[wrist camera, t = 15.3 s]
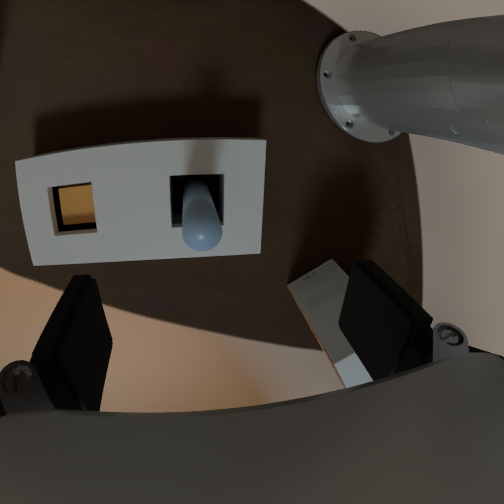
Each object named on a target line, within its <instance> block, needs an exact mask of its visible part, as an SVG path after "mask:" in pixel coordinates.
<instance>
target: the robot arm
mask: <svg viewBox="0 0 504 504" xmlns="http://www.w3.org/2000/svg"><path fill="white" fill-rule="evenodd" d="M324 73H325V75H326V77H325V76H324ZM316 78H317V88H318V92H319V95H320V99H321V101H322V104H323V106H324V108H325V110H326V112H327V113H328V115H329V116H330V118H331V119H332V120H333V121H334V122H335V124H336V125H337V126H338V127H339V128H340V129H342V130H343V131H344V132H346V133H347V134H349V135H351V136H353V137H355V138H357V139H360V140H364V141H369V142H384V141H387V140H391V139H393V138H394V137H396V136H398V135H399V134H400V133H401V132H405V133H412V134H418V135H423V136H428V137H433V138H438V139H443V140H448V141H452V142H456V143H461V144H465V145H469V146H473V147H477V148H481V149H484V150H488V151H492V152H495V153H499V154H503V155H504V15H497V16H489V17H478V18H469V19H463V20H455V21H448V22H442V23H437V24H432V25H427V26H422V27H418V28H413V29H409V30H406V31H401V32H397V33H393V34H390V35H386V36H383V37H381V36H379V35H377V34H375V33H371V32H367V31H352V32H347V33H344V34H342V35H340V36H338V37H336V38H335V39H333V40H332V41H331V42H330V43H329V44H328V45H327V46H326V47H325V48H324V50H323V52H322V54H321V55H320V58H319V62H318V65H317V75H316ZM346 122H347V126H346ZM432 321H433V318H432V317H431V316H430V315H429V314H428V313H427V312H426V311H425V310H424V309H423V308H422V307H421V306H420V305H419V304H418V303H417V302H416V301H415V300H414V299H413V298H412V297H411V296H410V295H409V294H408V293H407V292H406V291H405V290H404V289H402V288H401V287H400V286H399V285H398V284H397V283H396V282H395V281H394V280H393V279H392V278H391V277H390V276H389V275H388V274H386V273H385V272H384V271H383V270H382V269H381V268H380V267H379V266H378V265H377V264H376V263H374V262H373V261H372V260H358V261H356V263H355V264H354V265H352V267H351V271H350V275H349V280H348V284H347V288H346V292H345V297H344V301H343V305H342V309H341V313H340V317H339V321H338V324H339V328H340V330H341V332H342V333H343V335H344V336H345V338H346V339H347V341H348V342H349V344H350V345H351V347H352V348H353V350H354V352H355V353H356V355H357V356H358V358H359V359H360V361H361V362H362V364H363V366H364V367H365V369H366V370H367V372H368V373H369V375H370V377H371V378H372V380H373V381H371V382H367V383H364V384H360V385H356V386H352V387H348V388H344V389H340V390H336V391H332V392H327V393H323V394H318V395H314V396H309V397H304V398H298V399H293V400H288V401H282V402H275V403H269V404H262V405H256V406H248V407H239V408H230V409H220V410H207V411H192V412H170V413H169V412H167V413H123V412H99V411H100V405H101V399H102V394H103V388H104V383H105V378H106V373H107V368H108V364H109V359H110V355H111V350H112V344H113V343H112V337H111V333H110V330H109V327H108V323H107V320H106V317H105V313H104V310H103V306H102V302H101V298H100V294H99V290H98V286H97V282H96V280H95V279H94V278H91V276H90V275H89V274H88V275H74V276H73V278H72V279H71V281H70V283H69V284H68V286H67V288H66V289H65V291H64V293H63V295H62V296H61V298H60V300H59V302H58V303H57V305H56V307H55V309H54V311H53V313H52V314H51V316H50V318H49V320H48V322H47V324H46V326H45V328H44V330H43V332H42V334H41V336H40V338H39V340H38V342H37V344H36V346H35V349H34V351H33V353H32V357H31V359H30V362H27V361H24V360H19V361H14V362H12V363H10V364H8V365H7V366H5V367H4V368H3V369H2V371H1V372H0V504H504V357H503V356H500V355H496V354H493V353H490V352H487V351H483V350H480V349H477V348H474V347H471V346H468V340H467V337H466V335H465V333H464V332H463V331H462V330H461V329H460V328H458V327H457V326H455V325H452V324H450V323H438V324H436V325H435V326H434V328H433V329H432V328H431V327H430V325H431V323H432Z"/></svg>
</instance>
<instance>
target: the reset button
mask: <svg viewBox="0 0 504 504" xmlns="http://www.w3.org/2000/svg"><path fill="white" fill-rule="evenodd" d="M59 197H60V204H61V211H62V218H63V224H64V225H67V224H78V223H90V222H96V219H95V211H94V203H93V193H92V183H91V182H87V183H78V184H70V185H64V186H62V187H61V188H59Z"/></svg>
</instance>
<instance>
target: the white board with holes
mask: <svg viewBox="0 0 504 504" xmlns="http://www.w3.org/2000/svg"><path fill="white" fill-rule="evenodd" d="M265 155H266V140H263V139H258V138H246V137H197V138H170V139H153V140H139V141H128V142H118V143H109V144H100V145H92V146H85V147H78V148H72V149H66V150H60V151H54V152H48V153H43V154H38V155H34V156H30V157H27V158H24V159H21V160H18V161H15V166H16V176H17V185H18V192H19V199H20V206H21V211H22V217H23V222H24V227H25V232H26V237H27V241H28V246H29V250H30V254H31V258H32V262H33V265H34V266H38V265H57V264H76V263H94V262H113V261H132V260H150V259H168V258H187V257H205V256H223V255H241V254H259V253H260V249H261V231H262V213H263V194H264V175H265ZM197 174H219V212H217V215H218V218H219V221H220V223H221V226H222V238H221V240H220V242H219V243H218V245H217V246H215V247H214V248H213V249H211V250H208V251H195V250H193V249H191V248H190V247H188V246H187V245H186V243H185V242H184V240H183V237H182V216H183V213H175V214H173V194H172V176H173V175H197ZM87 182H91V183H92V193H93V203H94V211H95V219H96V226H97V229H87V230H75V231H63V232H59V231H58V226H57V220H56V214H55V207H54V200H53V193H52V187H55V186H62V185H70V184H78V183H87Z"/></svg>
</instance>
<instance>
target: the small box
mask: <svg viewBox="0 0 504 504" xmlns="http://www.w3.org/2000/svg"><path fill="white" fill-rule="evenodd" d="M348 280H349V276H348V275H347V274H346V273H345V272H344V271H343V270H342V268H341V267H340V266H339V265H338V264H337V263H336V262H335V261H334V260H333V259H330V260H329V261H327V262H325V263H323V264H322V265H320V266H318V267H317V268H315V269H313V270H312V271H310V272H308V273H307V274H305V275H303V276H302V277H300V278H298V279H297V280H295V281H293V282H292V283H290V284H288V285H287V287H288V289H289V291H290V292H291V294H292V296H293V298H294V299H295V301H296V303H297V305H298V306H299V308H300V310H301V312H302V313H303V315H304V317H305V319H306V321H307V323H308V324H309V326H310V328H311V330H312V332H313V333H314V335H315V337H316V338H317V340H318V342H319V343H320V345H321V347H322V349H323V350H324V352H325V354H326V356H327V358H328V359H329V361H330V363H331V365H332V366H333V368H334V370H335V372H336V373H337V375H338V377H339V379H340V381H341V382H342V384H343V386H344V387H345V388H348V387H352V386H356V385H360V384H364V383H367V382H371V381H373V380H372V378H371V377H370V375H369V373H368V372H367V370H366V369H365V367H364V366H363V364H362V362H361V361H360V359H359V358H358V356H357V355H356V353H355V352H354V350H353V348H352V347H351V345H350V344H349V342H348V341H347V339H346V338H345V336H344V335H343V333H342V332H341V330H340V328H339V324H338V321H339V317H340V313H341V309H342V305H343V301H344V297H345V292H346V288H347V284H348Z"/></svg>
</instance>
